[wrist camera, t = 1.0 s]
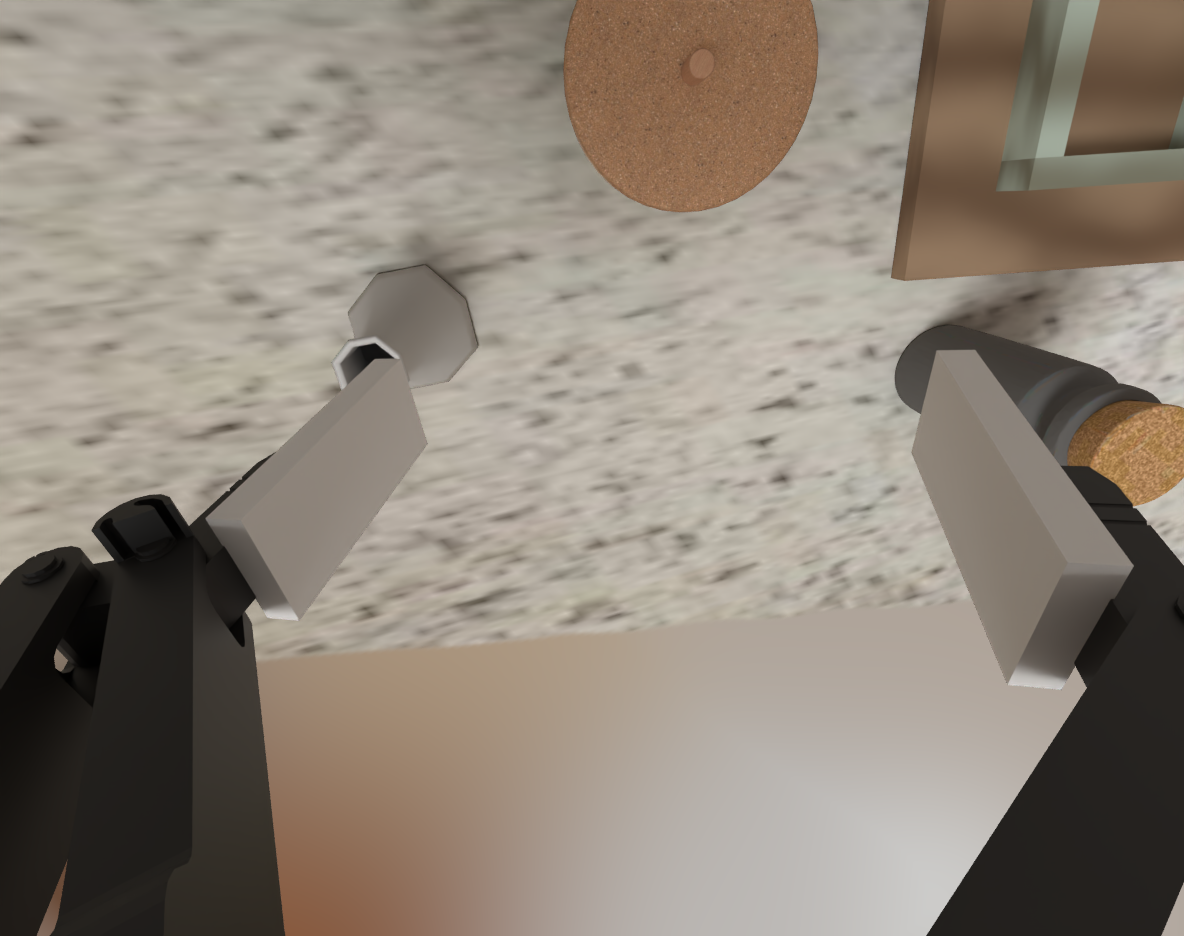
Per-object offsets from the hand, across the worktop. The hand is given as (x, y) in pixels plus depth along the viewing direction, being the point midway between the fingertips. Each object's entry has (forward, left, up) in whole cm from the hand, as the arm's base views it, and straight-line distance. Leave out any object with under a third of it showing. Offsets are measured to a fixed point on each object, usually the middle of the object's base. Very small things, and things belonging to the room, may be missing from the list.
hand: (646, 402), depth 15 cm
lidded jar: (-9, +4, -22) cm, 25 cm away
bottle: (+7, +22, -22) cm, 32 cm away
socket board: (-9, +28, -22) cm, 37 cm away
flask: (+2, -11, -22) cm, 25 cm away
